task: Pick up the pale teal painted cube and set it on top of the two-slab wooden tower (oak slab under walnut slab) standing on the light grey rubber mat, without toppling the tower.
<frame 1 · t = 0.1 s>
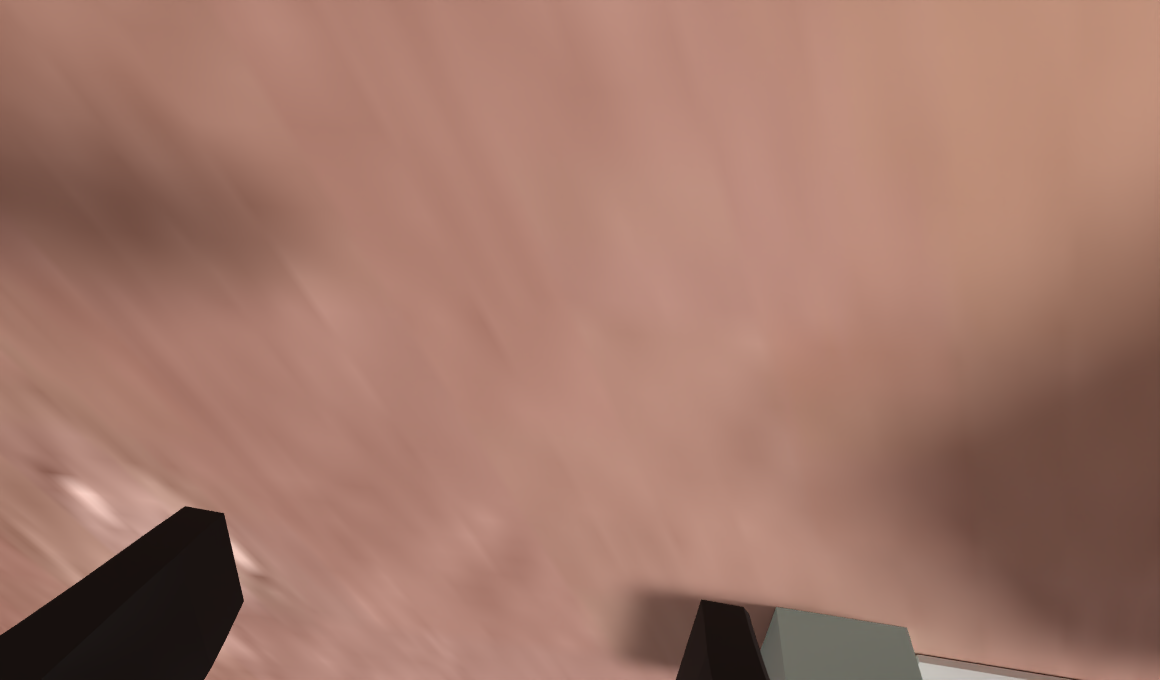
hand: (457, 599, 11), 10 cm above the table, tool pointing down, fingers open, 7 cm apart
block: (823, 653, 26), on the table
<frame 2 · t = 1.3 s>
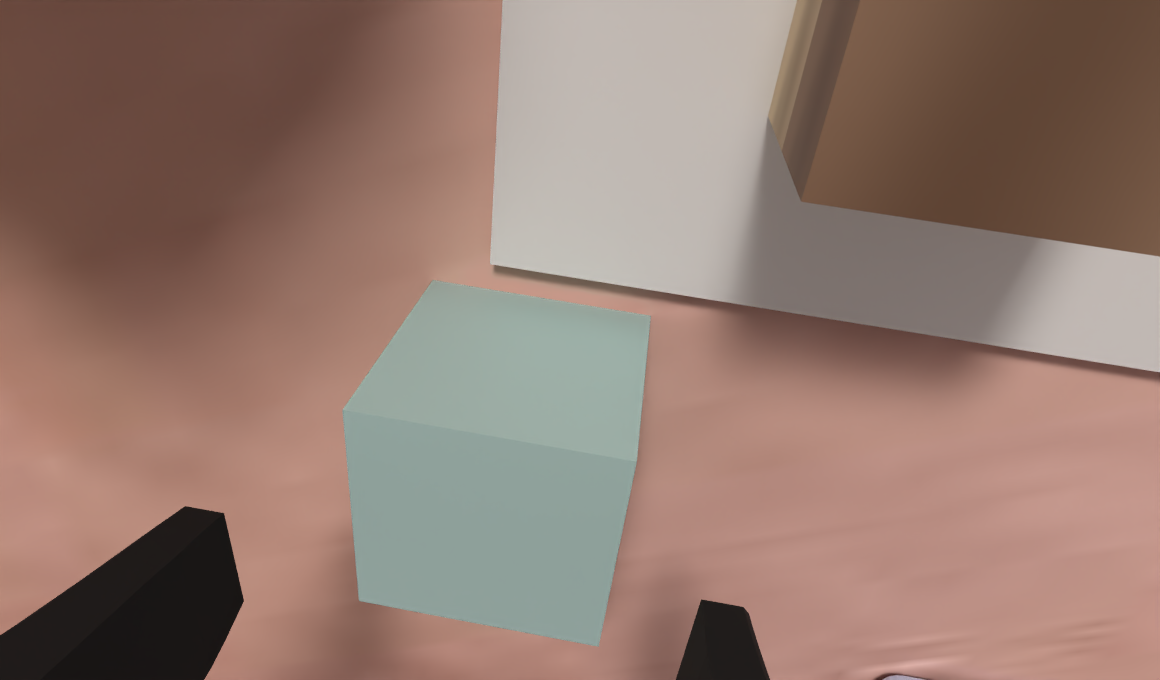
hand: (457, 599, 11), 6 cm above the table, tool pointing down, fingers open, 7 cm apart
block: (533, 384, 15), on the table
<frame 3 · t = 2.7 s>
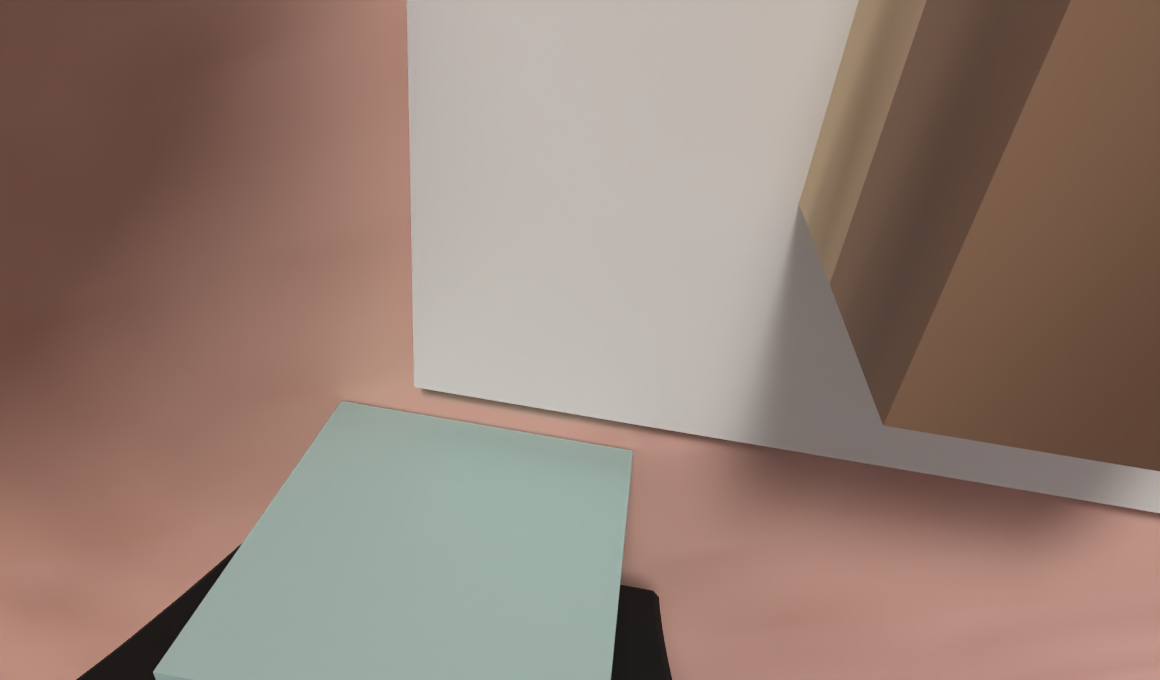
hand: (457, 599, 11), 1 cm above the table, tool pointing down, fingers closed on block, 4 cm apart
block: (480, 528, 12), on the table, touching gripper
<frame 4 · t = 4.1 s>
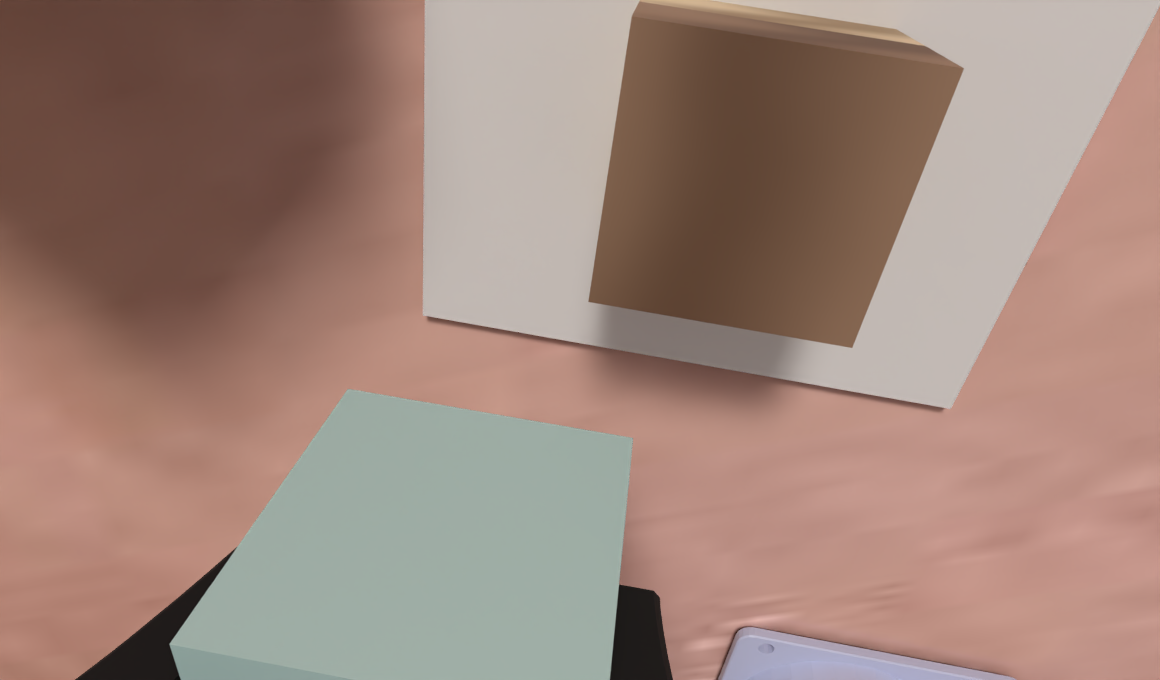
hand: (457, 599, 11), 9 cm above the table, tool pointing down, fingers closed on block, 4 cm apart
tower mid: (745, 163, 14), point 2 cm above the table, touching tower base
tower base: (738, 134, 15), resting on mat, touching tower mid
block: (483, 515, 12), point 8 cm above the table, touching gripper
mat: (737, 131, 15), on the table
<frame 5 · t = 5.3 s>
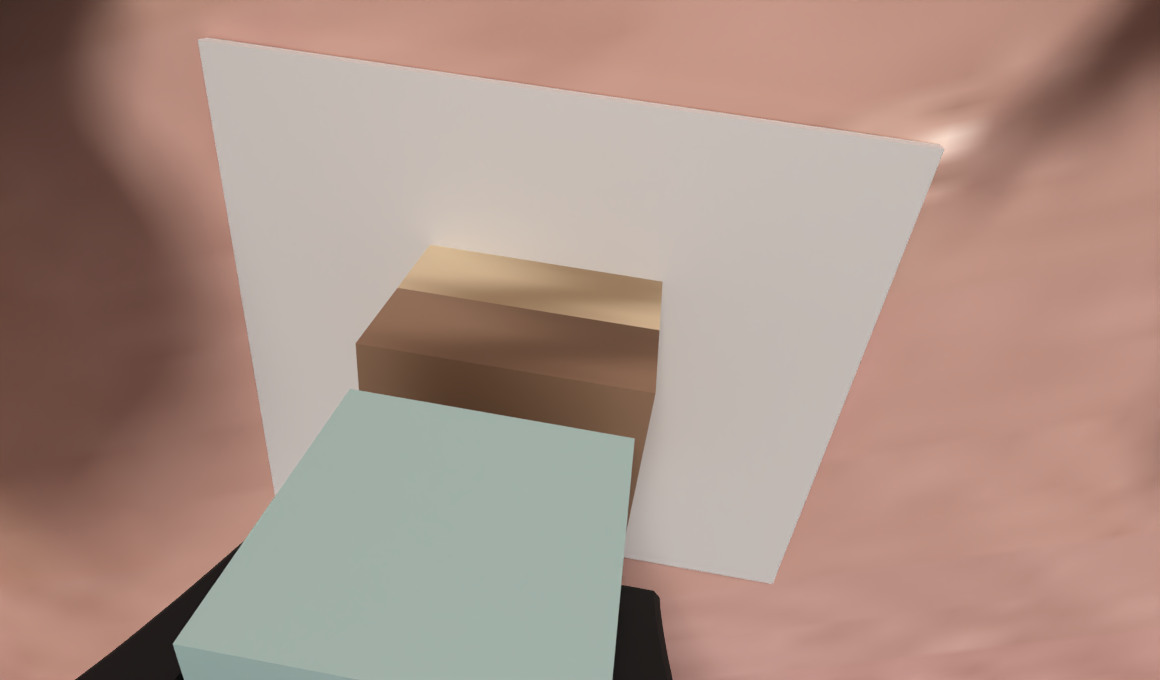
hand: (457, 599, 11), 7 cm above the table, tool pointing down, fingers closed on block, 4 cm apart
tower mid: (518, 413, 14), point 2 cm above the table, touching tower base
tower base: (536, 360, 16), resting on mat, touching tower mid
block: (484, 515, 12), point 5 cm above the table, touching gripper
mat: (538, 353, 16), on the table
when the fingers open (7 cm above the table, at t = 5.9 s): block stays where it is, resting on tower mid.
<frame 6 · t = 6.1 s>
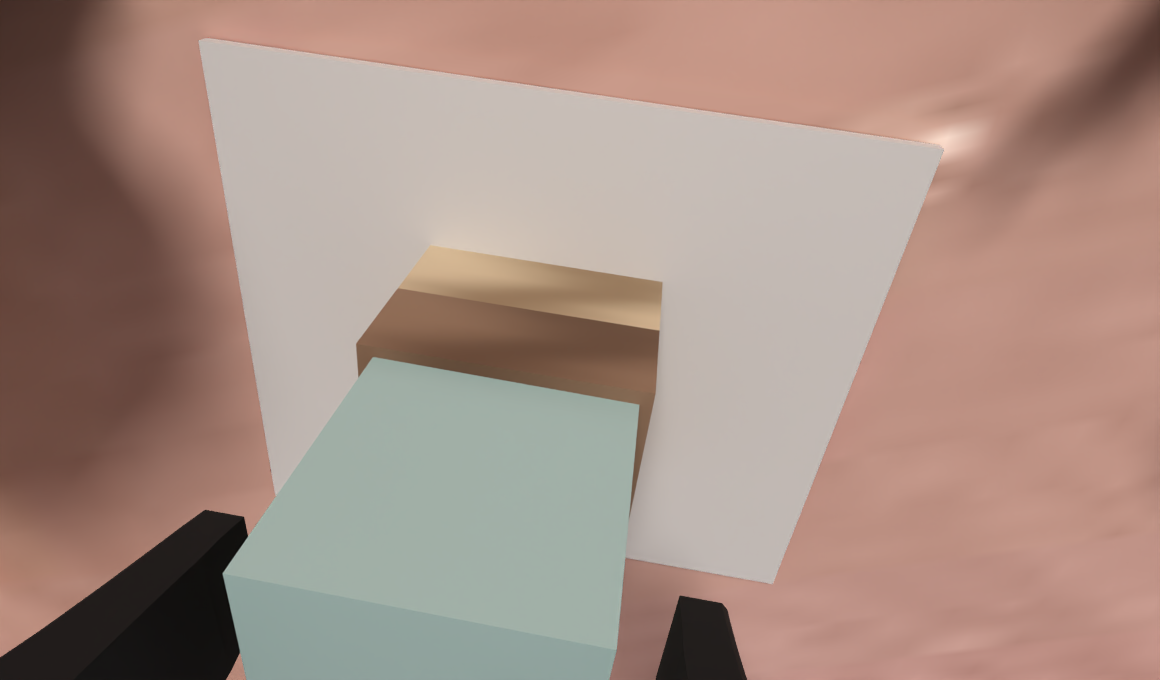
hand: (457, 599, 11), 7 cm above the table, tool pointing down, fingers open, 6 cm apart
tower mid: (518, 413, 15), point 2 cm above the table, touching block, tower base
tower base: (536, 360, 16), resting on mat, touching tower mid
block: (496, 479, 13), point 4 cm above the table, touching tower mid
mat: (538, 353, 16), on the table
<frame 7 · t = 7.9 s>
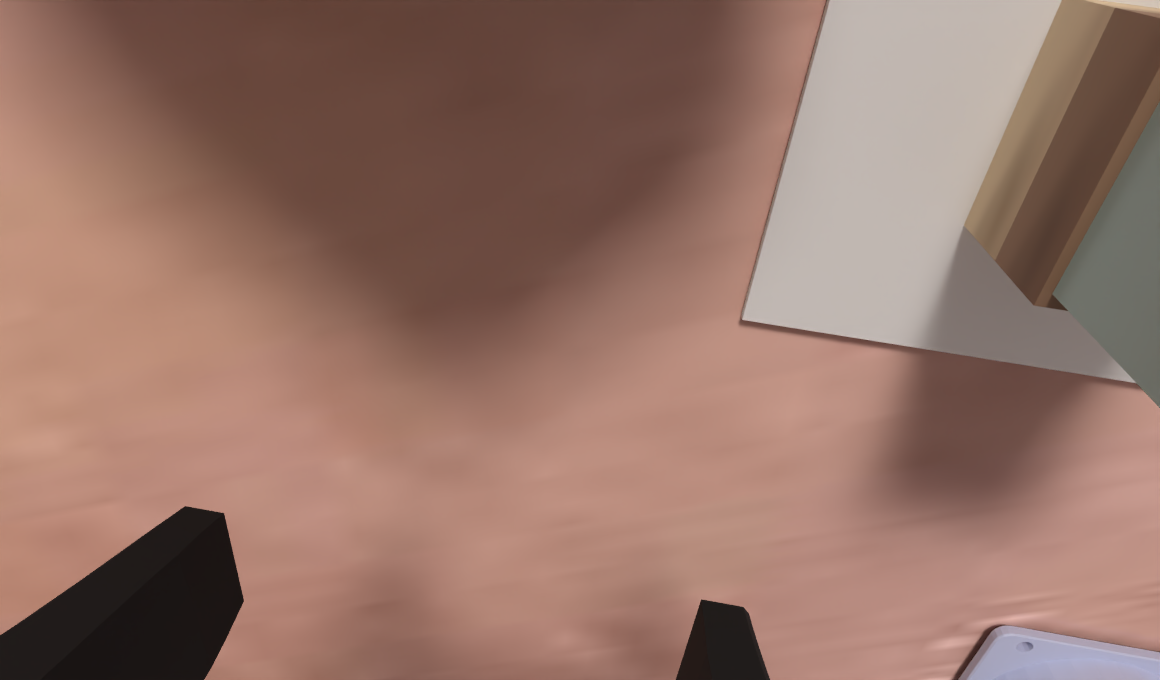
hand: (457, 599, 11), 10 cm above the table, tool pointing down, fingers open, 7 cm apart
tower base: (1125, 137, 15), resting on mat, touching tower mid
mat: (1118, 133, 16), on the table
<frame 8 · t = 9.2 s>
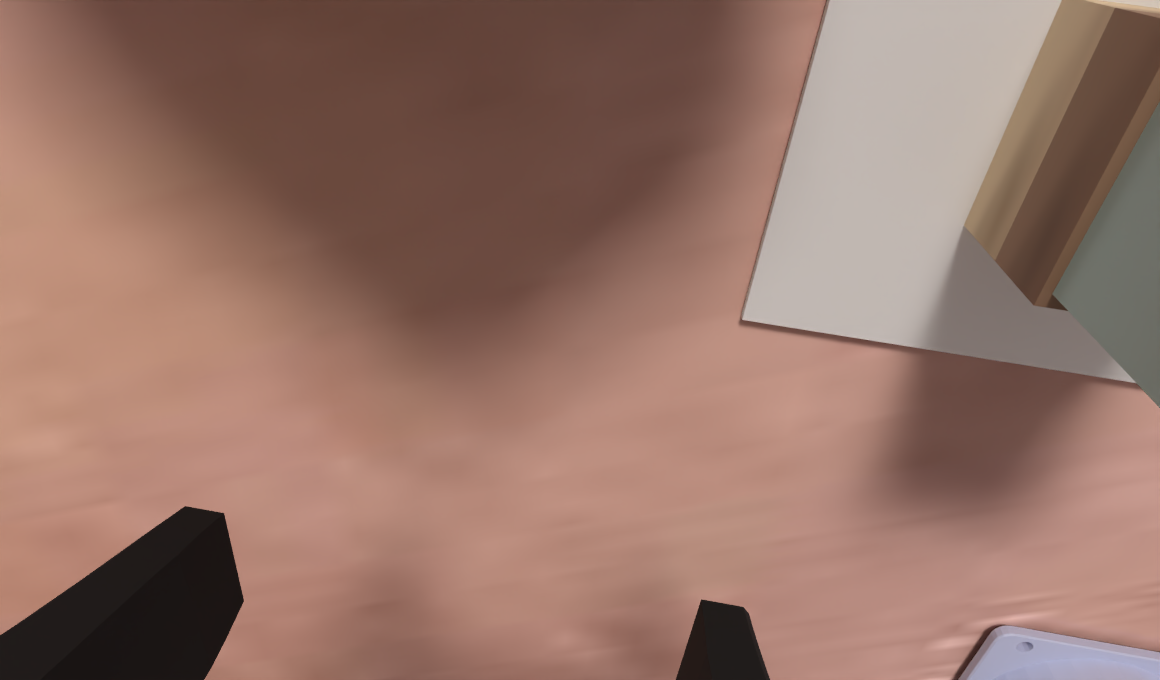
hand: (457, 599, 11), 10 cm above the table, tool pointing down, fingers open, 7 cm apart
tower base: (1125, 137, 15), resting on mat, touching tower mid
mat: (1118, 133, 16), on the table
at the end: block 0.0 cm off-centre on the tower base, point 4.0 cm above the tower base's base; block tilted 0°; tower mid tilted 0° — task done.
